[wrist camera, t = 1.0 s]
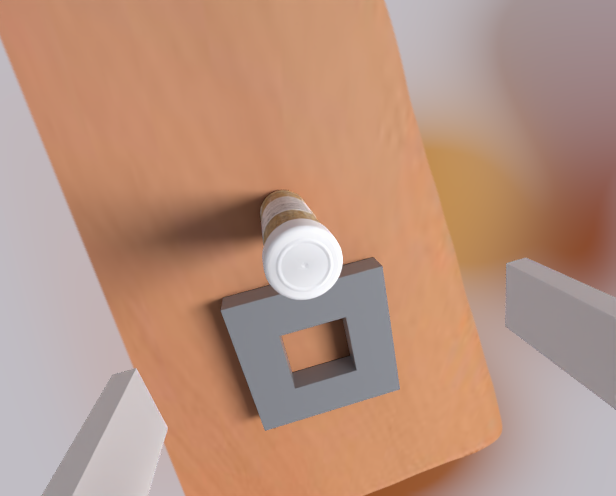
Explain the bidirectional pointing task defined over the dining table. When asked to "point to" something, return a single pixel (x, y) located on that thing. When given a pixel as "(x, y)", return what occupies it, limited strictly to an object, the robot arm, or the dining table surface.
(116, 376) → the robot arm
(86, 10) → the dining table surface
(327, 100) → the dining table surface
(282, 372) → the socket plate
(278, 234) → the sprinkles bottle
